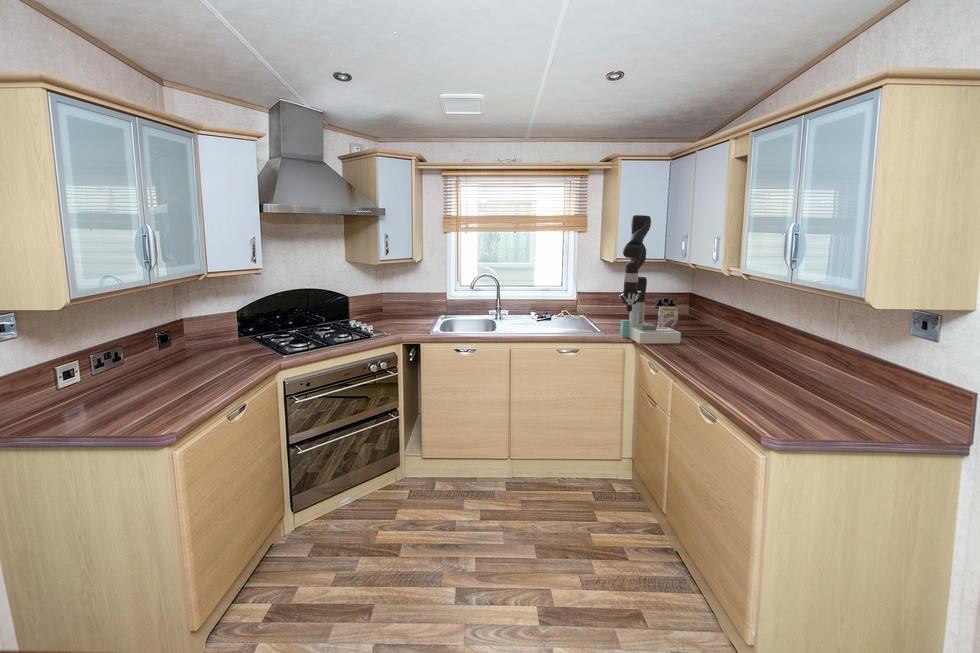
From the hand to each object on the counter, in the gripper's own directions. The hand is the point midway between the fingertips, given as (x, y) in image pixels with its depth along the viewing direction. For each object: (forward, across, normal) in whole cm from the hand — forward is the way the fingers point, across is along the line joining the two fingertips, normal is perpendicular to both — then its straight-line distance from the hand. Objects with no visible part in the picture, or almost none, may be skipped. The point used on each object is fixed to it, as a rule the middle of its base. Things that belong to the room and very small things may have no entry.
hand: (629, 311), depth 295 cm
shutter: (+11, -11, 0) cm, 15 cm away
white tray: (+17, -16, 0) cm, 23 cm away
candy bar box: (+17, -33, -20) cm, 42 cm away
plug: (+17, -2, -10) cm, 20 cm away
